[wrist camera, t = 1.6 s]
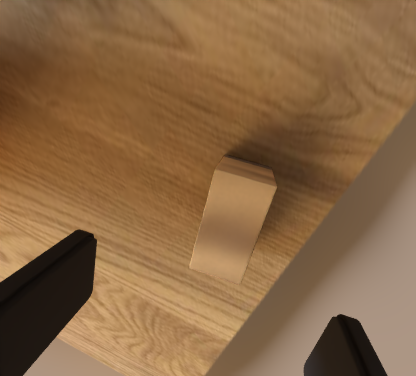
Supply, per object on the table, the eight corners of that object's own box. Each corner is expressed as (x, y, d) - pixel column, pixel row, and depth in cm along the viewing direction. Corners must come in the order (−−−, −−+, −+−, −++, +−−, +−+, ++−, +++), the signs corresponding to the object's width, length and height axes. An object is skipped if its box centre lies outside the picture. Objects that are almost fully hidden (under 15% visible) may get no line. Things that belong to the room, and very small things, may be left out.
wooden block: (224, 153, 17) (214, 168, 13) (271, 167, 17) (277, 186, 12) (202, 234, 19) (188, 268, 15) (243, 247, 19) (240, 285, 15)
